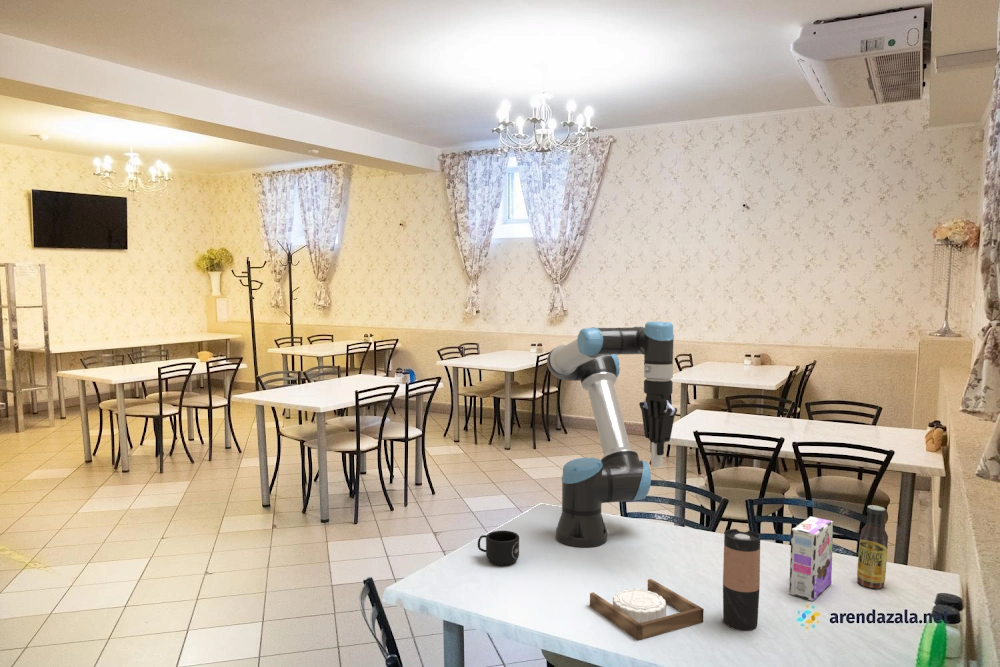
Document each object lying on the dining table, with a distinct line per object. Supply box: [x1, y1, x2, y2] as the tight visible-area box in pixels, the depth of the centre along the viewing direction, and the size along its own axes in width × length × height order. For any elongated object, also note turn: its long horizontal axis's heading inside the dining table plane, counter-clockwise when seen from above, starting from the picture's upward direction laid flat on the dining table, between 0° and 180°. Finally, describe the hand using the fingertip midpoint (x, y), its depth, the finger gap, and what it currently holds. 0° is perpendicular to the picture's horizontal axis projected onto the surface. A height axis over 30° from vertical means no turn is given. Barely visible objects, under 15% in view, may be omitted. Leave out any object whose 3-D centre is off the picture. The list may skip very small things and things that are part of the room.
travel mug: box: [722, 528, 761, 632], centre depth 151 cm, size 8×8×20 cm
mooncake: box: [612, 588, 667, 623], centre depth 157 cm, size 12×12×4 cm
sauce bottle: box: [856, 504, 889, 590], centre depth 172 cm, size 7×6×20 cm
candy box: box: [788, 516, 834, 602], centre depth 169 cm, size 14×6×16 cm, turn 137°
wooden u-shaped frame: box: [589, 578, 705, 641], centre depth 156 cm, size 18×18×3 cm
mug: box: [477, 530, 520, 566], centre depth 187 cm, size 12×9×7 cm
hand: (656, 466), depth 185 cm, fingers closed
